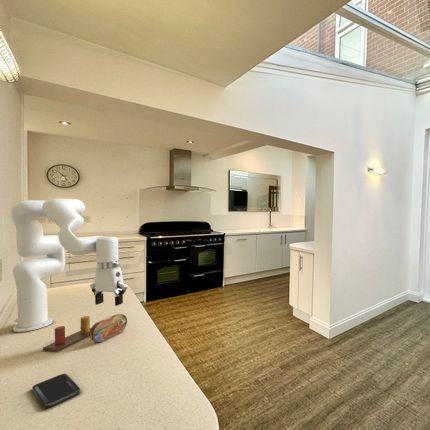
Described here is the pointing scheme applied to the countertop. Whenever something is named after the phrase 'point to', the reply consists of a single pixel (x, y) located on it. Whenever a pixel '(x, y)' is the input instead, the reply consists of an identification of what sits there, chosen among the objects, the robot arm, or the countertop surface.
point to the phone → (55, 390)
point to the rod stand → (65, 342)
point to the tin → (108, 328)
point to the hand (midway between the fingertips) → (109, 304)
